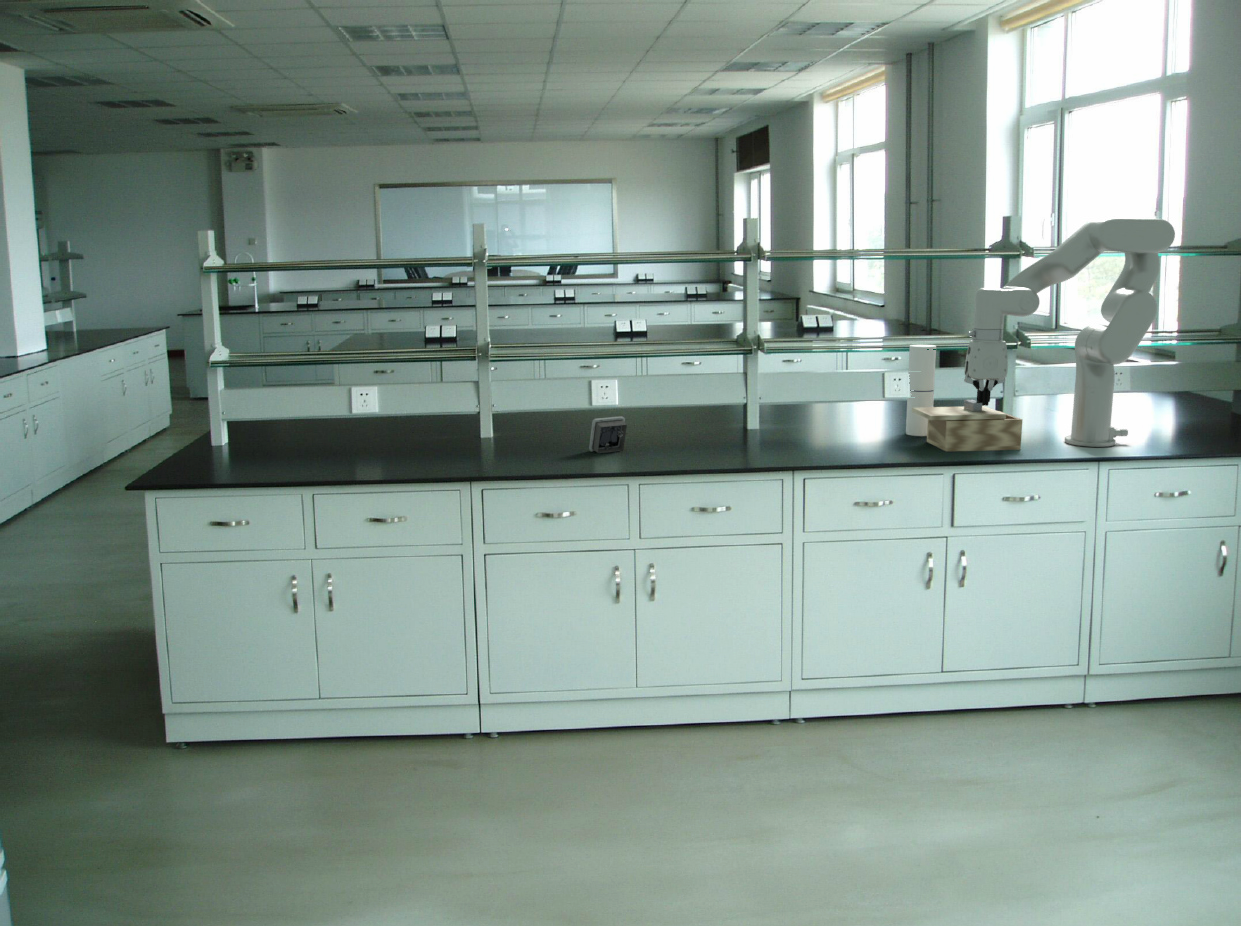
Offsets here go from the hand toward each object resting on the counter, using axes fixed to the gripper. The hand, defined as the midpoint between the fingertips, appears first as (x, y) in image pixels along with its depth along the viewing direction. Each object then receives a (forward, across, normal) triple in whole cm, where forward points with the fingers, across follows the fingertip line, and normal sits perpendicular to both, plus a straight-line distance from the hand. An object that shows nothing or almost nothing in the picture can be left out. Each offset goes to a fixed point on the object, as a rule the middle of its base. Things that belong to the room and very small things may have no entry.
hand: (982, 404), depth 284 cm
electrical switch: (+12, -99, +5) cm, 100 cm away
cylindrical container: (+11, -10, +19) cm, 24 cm away
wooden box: (+11, -2, 0) cm, 11 cm away
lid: (+3, -7, 0) cm, 7 cm away
